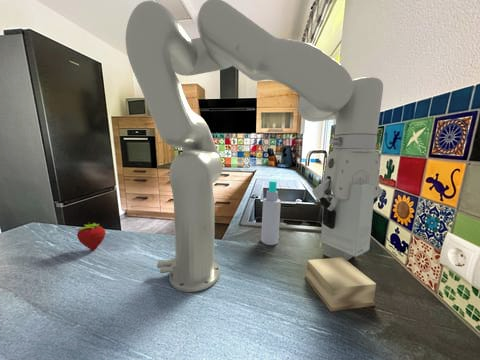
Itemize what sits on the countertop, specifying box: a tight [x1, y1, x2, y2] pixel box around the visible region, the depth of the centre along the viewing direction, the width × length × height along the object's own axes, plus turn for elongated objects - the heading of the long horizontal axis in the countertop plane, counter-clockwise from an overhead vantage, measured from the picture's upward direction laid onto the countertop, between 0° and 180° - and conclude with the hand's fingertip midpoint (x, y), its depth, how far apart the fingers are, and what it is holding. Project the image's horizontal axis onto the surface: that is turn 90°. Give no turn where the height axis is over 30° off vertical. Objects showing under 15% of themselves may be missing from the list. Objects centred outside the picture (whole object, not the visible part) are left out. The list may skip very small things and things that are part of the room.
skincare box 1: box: [320, 183, 374, 257], centre depth 41 cm, size 8×6×15 cm
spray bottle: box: [260, 180, 282, 246], centre depth 65 cm, size 6×6×22 cm
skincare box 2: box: [322, 243, 354, 261], centre depth 58 cm, size 8×7×16 cm
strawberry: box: [76, 222, 107, 251], centre depth 57 cm, size 6×8×10 cm
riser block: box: [304, 257, 377, 312], centre depth 44 cm, size 10×10×5 cm
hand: (344, 225), depth 41 cm, fingers closed on skincare box 1, 7 cm apart
